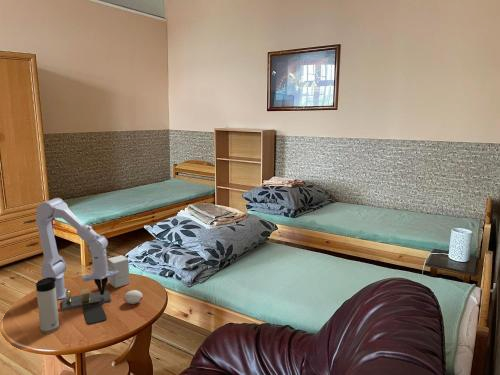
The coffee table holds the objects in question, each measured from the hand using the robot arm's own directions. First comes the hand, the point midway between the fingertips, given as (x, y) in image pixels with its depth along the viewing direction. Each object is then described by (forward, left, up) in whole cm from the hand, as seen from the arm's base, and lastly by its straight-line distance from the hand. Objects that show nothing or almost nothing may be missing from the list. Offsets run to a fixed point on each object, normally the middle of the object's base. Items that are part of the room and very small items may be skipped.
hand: (102, 293), depth 167 cm
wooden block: (0, -7, -1) cm, 7 cm away
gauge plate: (-1, -6, -3) cm, 7 cm away
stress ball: (+9, +12, -3) cm, 15 cm away
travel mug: (+17, -20, -3) cm, 26 cm away
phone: (+12, -4, -3) cm, 13 cm away
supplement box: (-13, +9, -3) cm, 16 cm away
